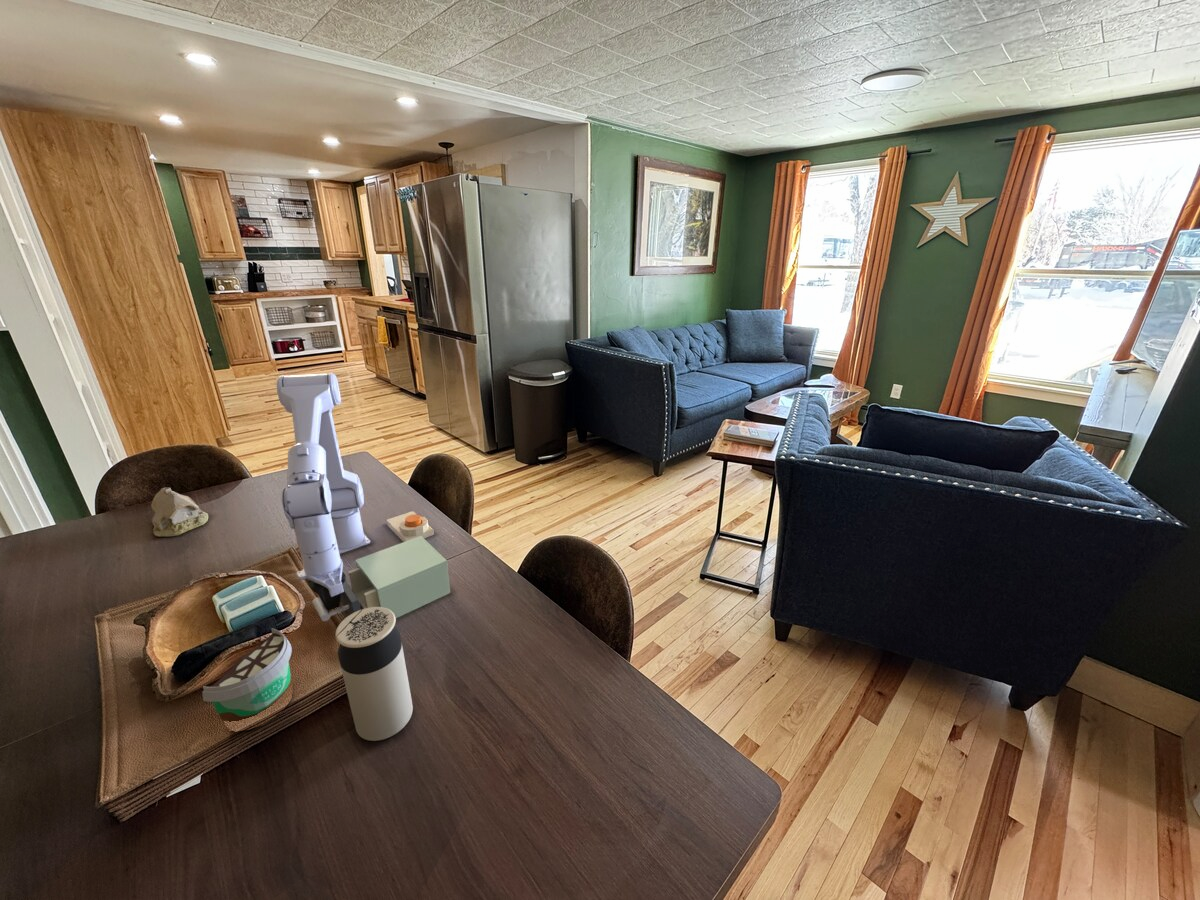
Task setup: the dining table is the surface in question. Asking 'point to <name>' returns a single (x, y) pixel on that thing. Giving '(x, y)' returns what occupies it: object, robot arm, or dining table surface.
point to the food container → (253, 680)
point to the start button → (413, 520)
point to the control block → (409, 533)
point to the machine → (406, 575)
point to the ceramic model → (175, 513)
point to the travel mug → (374, 672)
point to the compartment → (351, 596)
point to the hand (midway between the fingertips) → (332, 606)
